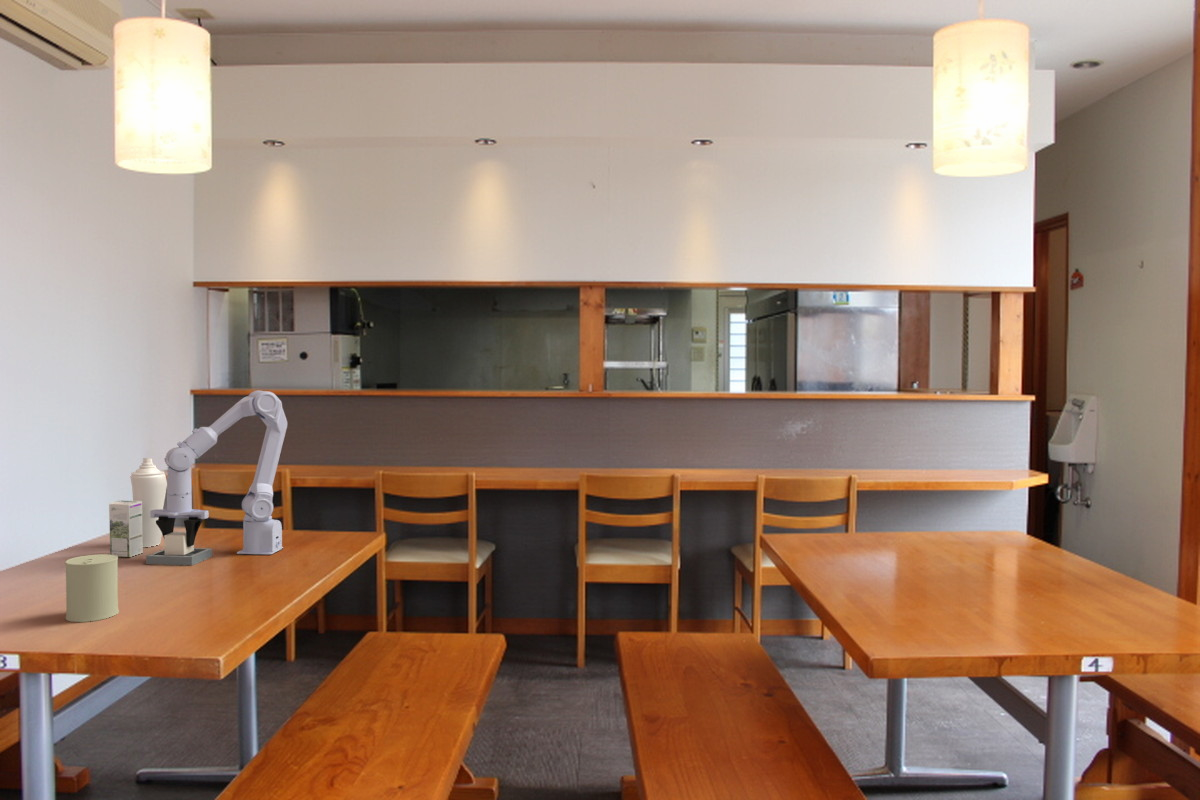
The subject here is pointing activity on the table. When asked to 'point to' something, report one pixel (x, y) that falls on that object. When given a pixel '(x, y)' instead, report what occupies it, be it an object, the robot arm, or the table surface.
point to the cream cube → (176, 544)
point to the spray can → (149, 498)
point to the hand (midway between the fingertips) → (179, 545)
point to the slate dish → (179, 557)
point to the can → (91, 587)
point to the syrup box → (125, 528)
